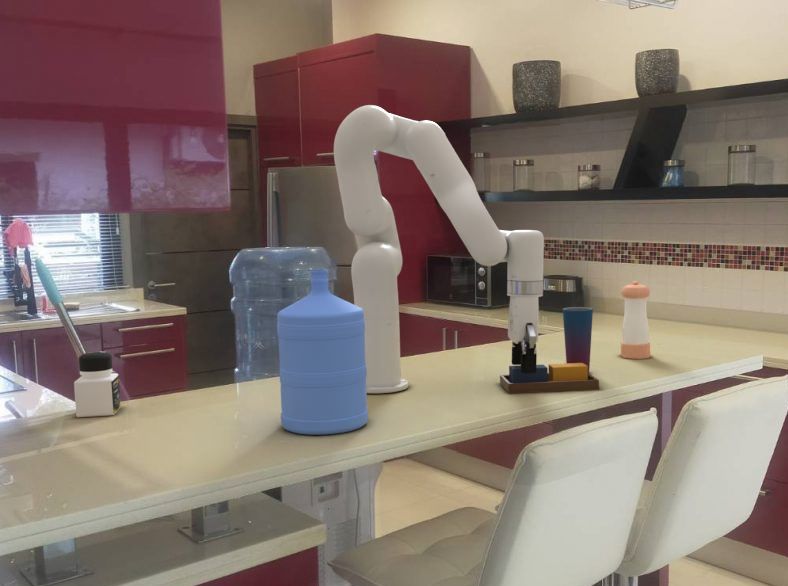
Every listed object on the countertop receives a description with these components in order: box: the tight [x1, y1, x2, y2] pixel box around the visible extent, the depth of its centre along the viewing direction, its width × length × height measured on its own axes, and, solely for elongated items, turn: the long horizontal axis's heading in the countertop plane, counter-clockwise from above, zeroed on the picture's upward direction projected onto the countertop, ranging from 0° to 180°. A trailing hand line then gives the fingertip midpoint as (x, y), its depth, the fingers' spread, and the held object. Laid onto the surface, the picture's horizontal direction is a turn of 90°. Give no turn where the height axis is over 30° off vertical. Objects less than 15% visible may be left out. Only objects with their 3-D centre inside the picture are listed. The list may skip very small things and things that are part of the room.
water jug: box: [276, 269, 369, 436], centre depth 154 cm, size 16×16×28 cm
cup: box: [562, 306, 594, 374], centre depth 198 cm, size 7×7×15 cm
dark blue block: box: [508, 364, 549, 383], centre depth 184 cm, size 8×4×4 cm, turn 95°
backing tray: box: [499, 372, 600, 394], centre depth 185 cm, size 19×10×2 cm, turn 95°
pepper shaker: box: [620, 280, 651, 360], centre depth 218 cm, size 7×7×19 cm
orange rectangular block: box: [548, 363, 588, 382], centre depth 185 cm, size 8×4×4 cm, turn 95°
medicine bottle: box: [73, 351, 122, 418], centre depth 170 cm, size 7×7×12 cm
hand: (523, 368), depth 184 cm, fingers open, 9 cm apart
